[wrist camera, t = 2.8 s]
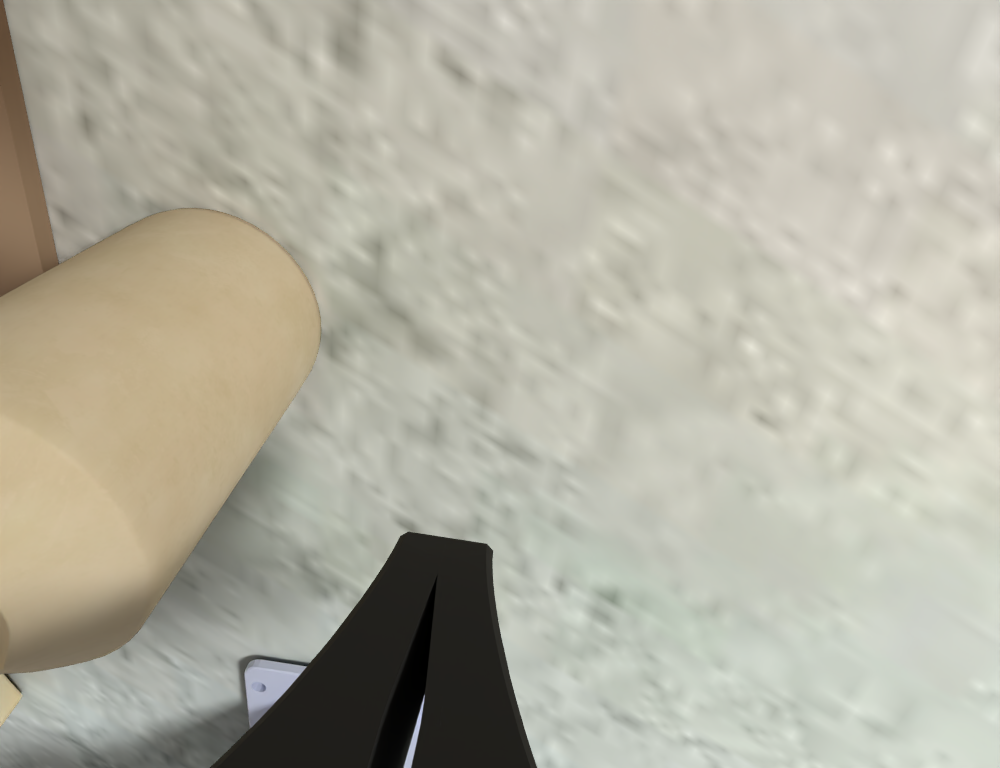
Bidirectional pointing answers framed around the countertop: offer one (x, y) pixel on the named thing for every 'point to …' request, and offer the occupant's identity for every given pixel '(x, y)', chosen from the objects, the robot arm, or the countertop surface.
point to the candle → (135, 419)
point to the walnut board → (19, 183)
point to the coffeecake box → (7, 698)
